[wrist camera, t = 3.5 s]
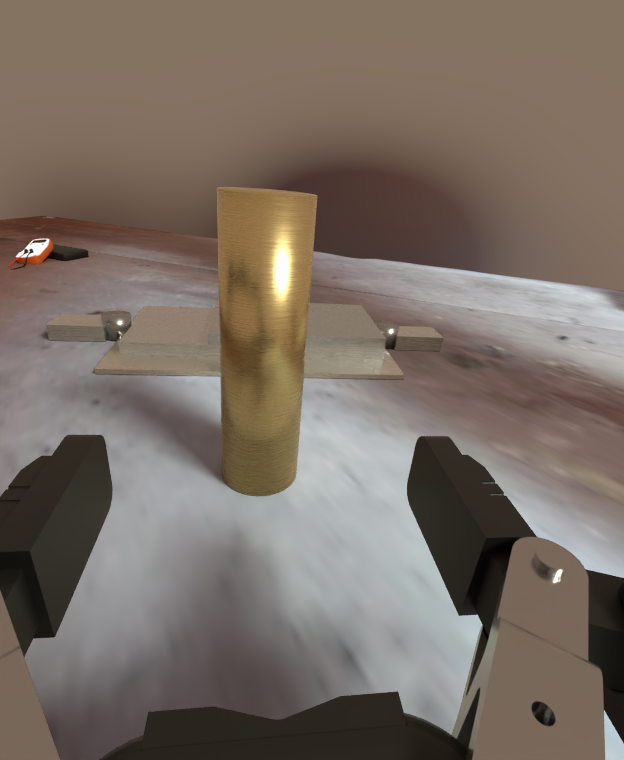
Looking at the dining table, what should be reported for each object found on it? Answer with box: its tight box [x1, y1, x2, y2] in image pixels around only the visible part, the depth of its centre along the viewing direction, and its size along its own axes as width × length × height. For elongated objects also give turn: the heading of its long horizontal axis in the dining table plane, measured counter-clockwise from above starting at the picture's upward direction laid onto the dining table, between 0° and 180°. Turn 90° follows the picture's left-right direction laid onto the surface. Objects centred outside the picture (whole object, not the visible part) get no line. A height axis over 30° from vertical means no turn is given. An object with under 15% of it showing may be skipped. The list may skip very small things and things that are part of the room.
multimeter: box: [10, 238, 89, 270], centre depth 61 cm, size 18×12×3 cm, turn 156°
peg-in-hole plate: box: [46, 299, 443, 380], centre depth 40 cm, size 36×16×2 cm, turn 97°
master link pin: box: [217, 187, 317, 496], centre depth 20 cm, size 4×4×14 cm
